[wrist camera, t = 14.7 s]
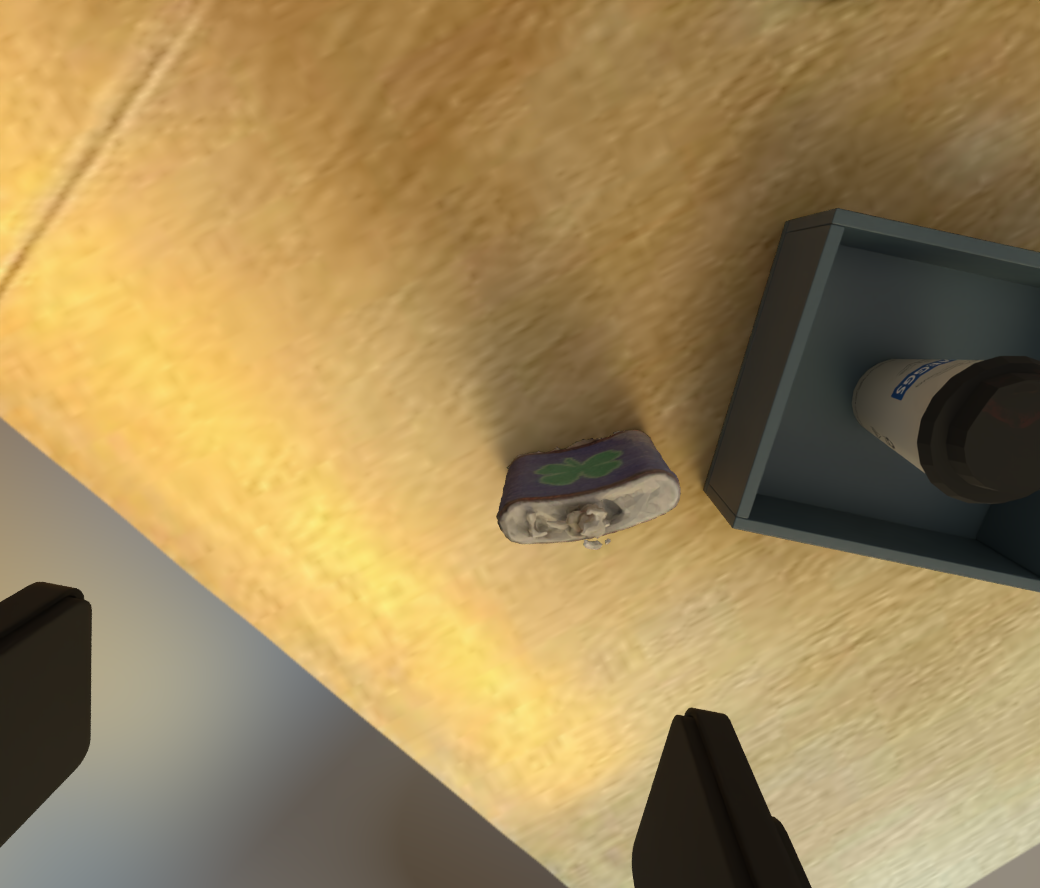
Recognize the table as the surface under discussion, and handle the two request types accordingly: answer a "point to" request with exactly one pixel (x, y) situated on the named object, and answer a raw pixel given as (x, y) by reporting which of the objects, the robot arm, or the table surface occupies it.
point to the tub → (834, 375)
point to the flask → (586, 490)
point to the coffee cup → (959, 422)
